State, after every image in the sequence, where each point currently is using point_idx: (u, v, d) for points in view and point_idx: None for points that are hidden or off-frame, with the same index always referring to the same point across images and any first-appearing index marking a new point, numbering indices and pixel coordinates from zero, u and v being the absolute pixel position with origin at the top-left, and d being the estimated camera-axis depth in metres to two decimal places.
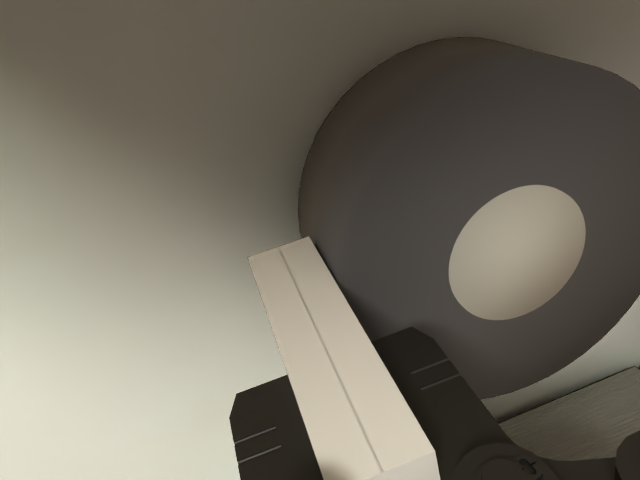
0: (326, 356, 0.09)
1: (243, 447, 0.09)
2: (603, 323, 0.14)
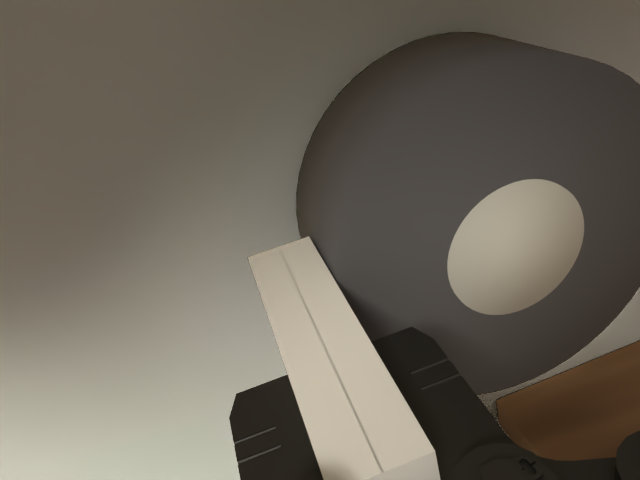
0: (326, 356, 0.09)
1: (243, 447, 0.09)
2: (604, 315, 0.14)
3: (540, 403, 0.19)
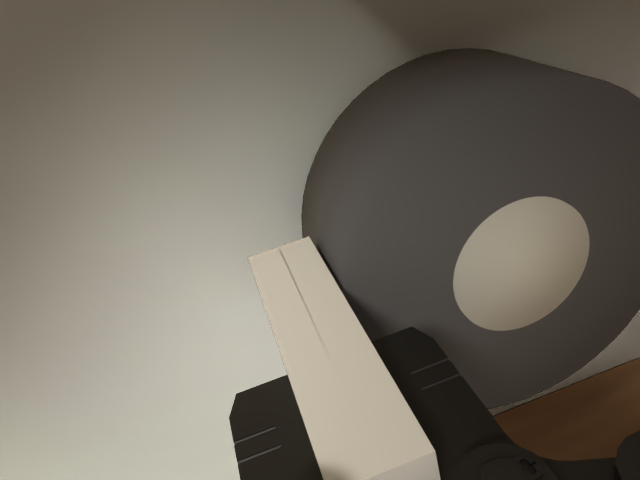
0: (326, 356, 0.09)
1: (243, 447, 0.09)
2: (601, 338, 0.14)
3: None
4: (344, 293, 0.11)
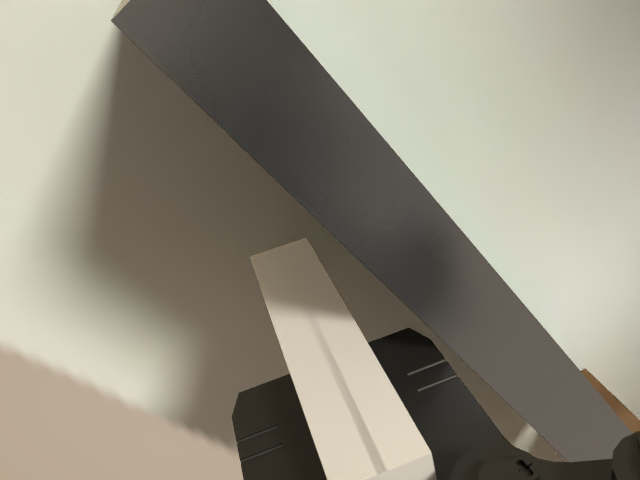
0: (329, 355, 0.09)
1: (246, 446, 0.09)
2: None
3: None
4: None
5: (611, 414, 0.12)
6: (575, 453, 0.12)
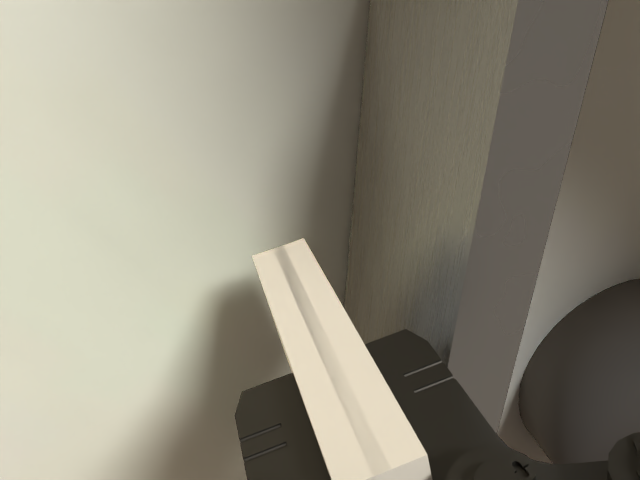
0: (332, 354, 0.09)
1: (249, 445, 0.09)
2: None
3: None
4: None
5: None
6: None
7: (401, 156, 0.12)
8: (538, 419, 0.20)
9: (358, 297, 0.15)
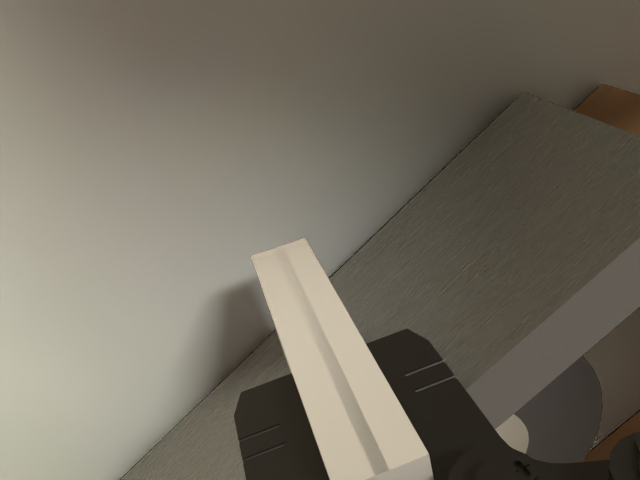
0: (330, 355, 0.09)
1: (248, 445, 0.09)
2: None
3: None
4: None
5: None
6: None
7: (460, 244, 0.13)
8: None
9: None
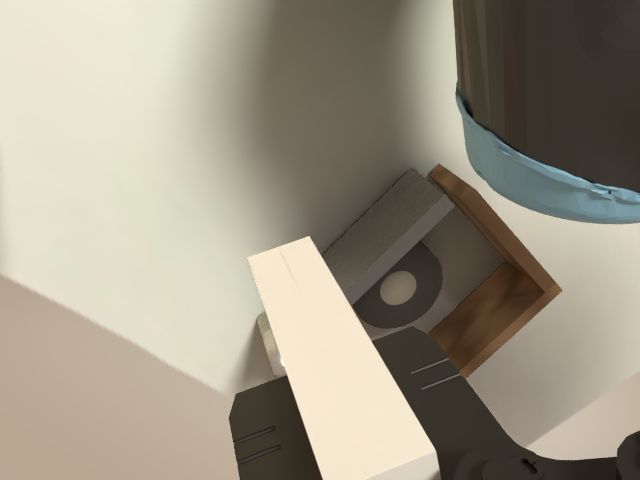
0: (326, 356, 0.09)
1: (242, 447, 0.09)
2: (386, 324, 0.48)
3: None
4: None
5: None
6: None
7: (389, 215, 0.44)
8: None
9: (341, 246, 0.46)
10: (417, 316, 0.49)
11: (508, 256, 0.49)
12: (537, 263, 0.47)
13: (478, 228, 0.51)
